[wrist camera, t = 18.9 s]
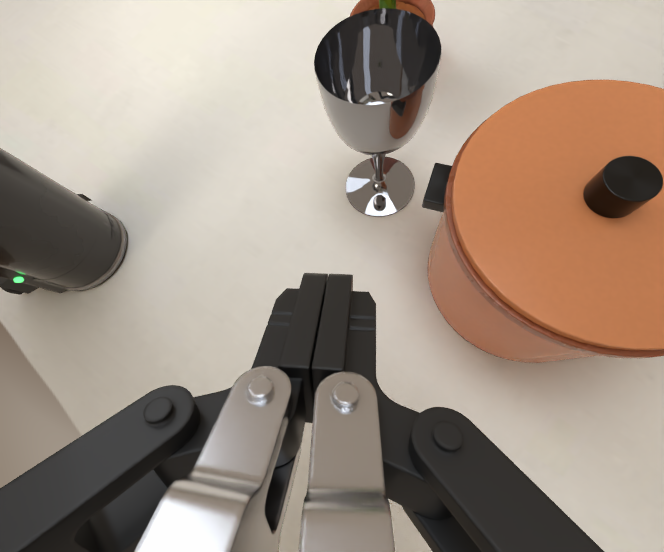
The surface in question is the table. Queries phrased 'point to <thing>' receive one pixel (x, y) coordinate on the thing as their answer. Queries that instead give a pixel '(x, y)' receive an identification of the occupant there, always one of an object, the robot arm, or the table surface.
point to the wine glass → (378, 97)
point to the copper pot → (556, 226)
